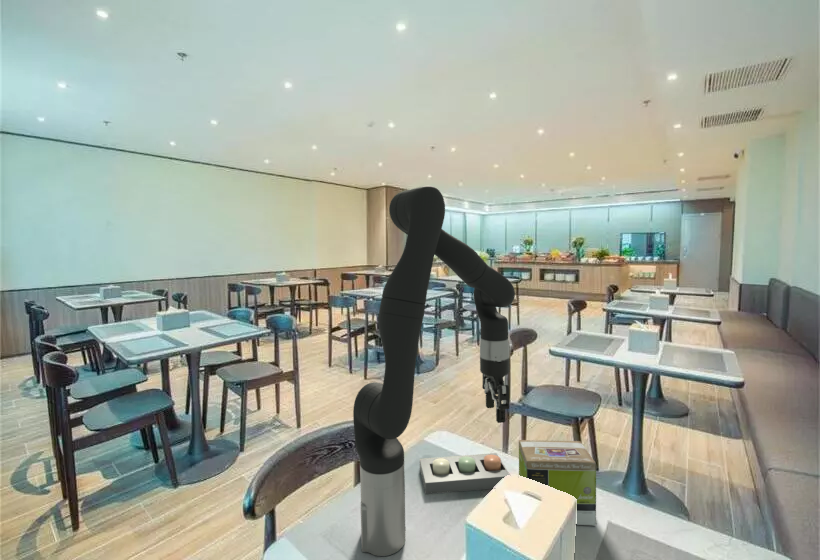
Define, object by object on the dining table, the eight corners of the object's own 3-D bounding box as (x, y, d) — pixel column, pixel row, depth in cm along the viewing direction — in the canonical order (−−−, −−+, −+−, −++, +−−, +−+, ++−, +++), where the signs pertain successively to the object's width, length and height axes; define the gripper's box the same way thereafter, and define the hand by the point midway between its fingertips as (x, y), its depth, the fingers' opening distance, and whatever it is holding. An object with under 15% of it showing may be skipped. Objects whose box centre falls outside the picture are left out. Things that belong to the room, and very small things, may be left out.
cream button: (434, 477, 99) (434, 468, 99) (431, 468, 103) (431, 459, 103) (451, 476, 99) (451, 467, 99) (447, 466, 104) (447, 457, 103)
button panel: (425, 494, 95) (425, 482, 95) (419, 469, 106) (419, 458, 106) (510, 487, 98) (510, 475, 98) (496, 463, 109) (496, 453, 108)
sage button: (460, 475, 100) (460, 466, 99) (457, 466, 104) (456, 457, 104) (477, 474, 100) (477, 465, 100) (472, 465, 104) (472, 455, 104)
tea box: (580, 497, 93) (582, 439, 92) (596, 527, 83) (598, 463, 82) (517, 494, 95) (518, 437, 94) (525, 523, 85) (526, 460, 84)
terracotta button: (486, 473, 100) (487, 464, 100) (482, 464, 105) (482, 455, 104) (503, 472, 101) (503, 463, 101) (497, 463, 105) (497, 454, 105)
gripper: (472, 348, 106) (473, 404, 108) (489, 364, 92) (490, 428, 94) (499, 346, 107) (499, 402, 109) (519, 362, 93) (519, 426, 94)
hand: (495, 414), depth 101 cm, fingers open, 8 cm apart
